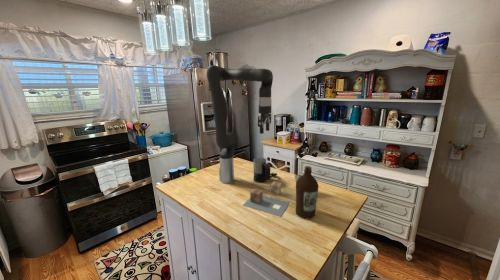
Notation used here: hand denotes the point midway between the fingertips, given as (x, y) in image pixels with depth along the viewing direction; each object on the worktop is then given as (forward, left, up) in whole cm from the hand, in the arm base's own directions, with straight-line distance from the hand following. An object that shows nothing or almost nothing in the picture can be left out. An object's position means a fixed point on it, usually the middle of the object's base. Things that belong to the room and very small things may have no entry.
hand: (264, 132), depth 126 cm
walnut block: (+4, -19, -36) cm, 40 cm away
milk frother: (-4, +11, -36) cm, 38 cm away
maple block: (+10, -5, -36) cm, 38 cm away
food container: (+24, +4, -36) cm, 43 cm away
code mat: (+10, -19, -36) cm, 42 cm away
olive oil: (+31, -18, -36) cm, 51 cm away
